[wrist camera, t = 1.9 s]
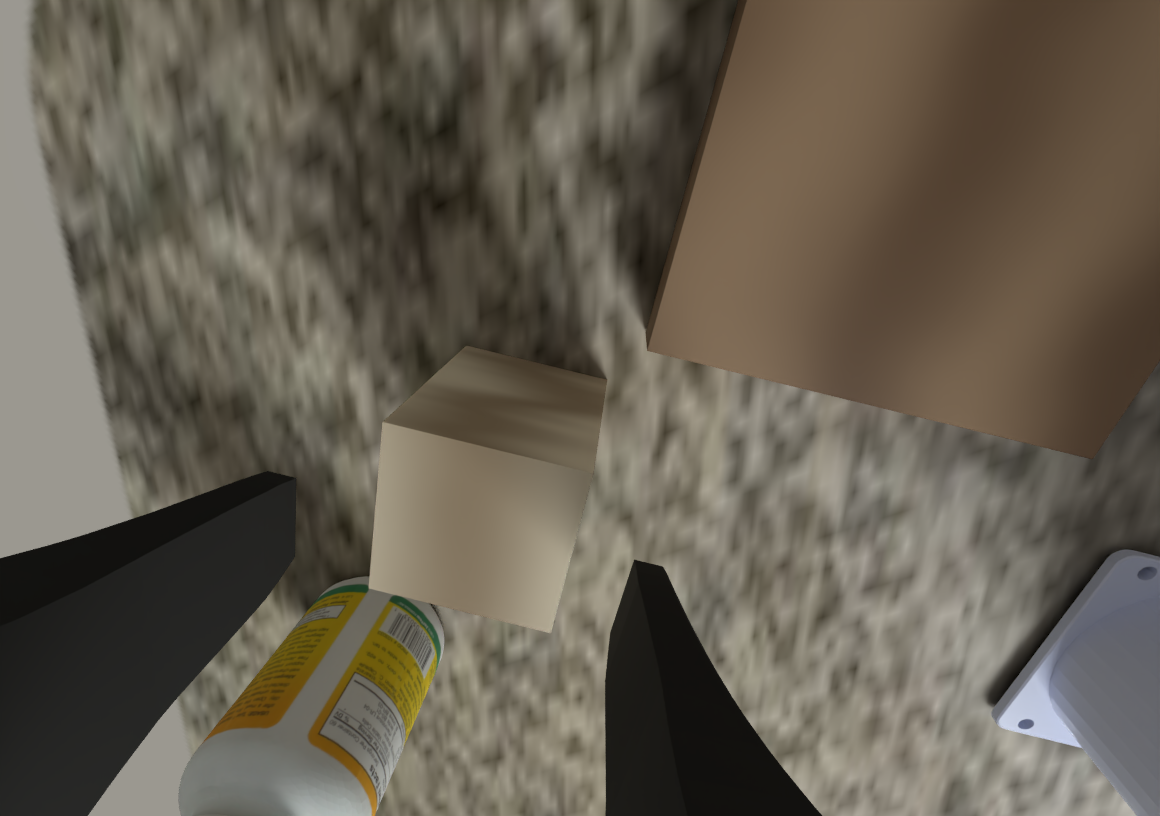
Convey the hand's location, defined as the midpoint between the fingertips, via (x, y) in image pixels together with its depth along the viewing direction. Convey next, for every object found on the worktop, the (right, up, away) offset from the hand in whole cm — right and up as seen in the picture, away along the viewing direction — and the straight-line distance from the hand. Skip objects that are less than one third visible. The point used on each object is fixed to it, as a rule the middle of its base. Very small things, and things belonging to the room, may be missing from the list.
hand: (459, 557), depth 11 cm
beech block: (+1, +3, +6) cm, 7 cm away
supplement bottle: (-5, -5, +10) cm, 13 cm away
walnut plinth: (+12, +9, +2) cm, 15 cm away
